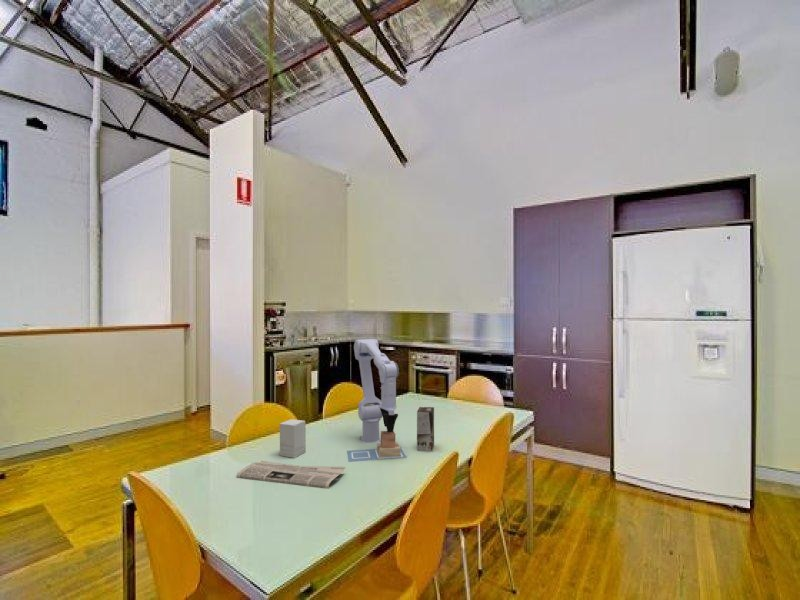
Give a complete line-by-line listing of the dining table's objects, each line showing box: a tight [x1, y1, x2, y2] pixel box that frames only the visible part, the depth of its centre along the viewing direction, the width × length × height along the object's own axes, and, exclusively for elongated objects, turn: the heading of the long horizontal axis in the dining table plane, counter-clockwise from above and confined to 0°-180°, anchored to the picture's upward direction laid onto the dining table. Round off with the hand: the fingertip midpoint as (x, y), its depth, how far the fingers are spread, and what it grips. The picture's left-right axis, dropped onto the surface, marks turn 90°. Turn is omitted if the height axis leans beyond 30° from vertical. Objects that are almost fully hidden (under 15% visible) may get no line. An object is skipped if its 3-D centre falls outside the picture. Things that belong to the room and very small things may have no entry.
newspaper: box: [236, 460, 346, 489], centre depth 142 cm, size 35×12×4 cm, turn 75°
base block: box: [376, 441, 402, 458], centre depth 162 cm, size 8×8×3 cm
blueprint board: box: [346, 446, 408, 463], centre depth 161 cm, size 12×22×1 cm, turn 100°
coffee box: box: [416, 406, 435, 453], centre depth 168 cm, size 9×6×16 cm
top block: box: [380, 430, 396, 448], centre depth 162 cm, size 5×5×5 cm
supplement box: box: [279, 418, 307, 459], centre depth 163 cm, size 7×7×13 cm
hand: (388, 429), depth 162 cm, fingers open, 7 cm apart
